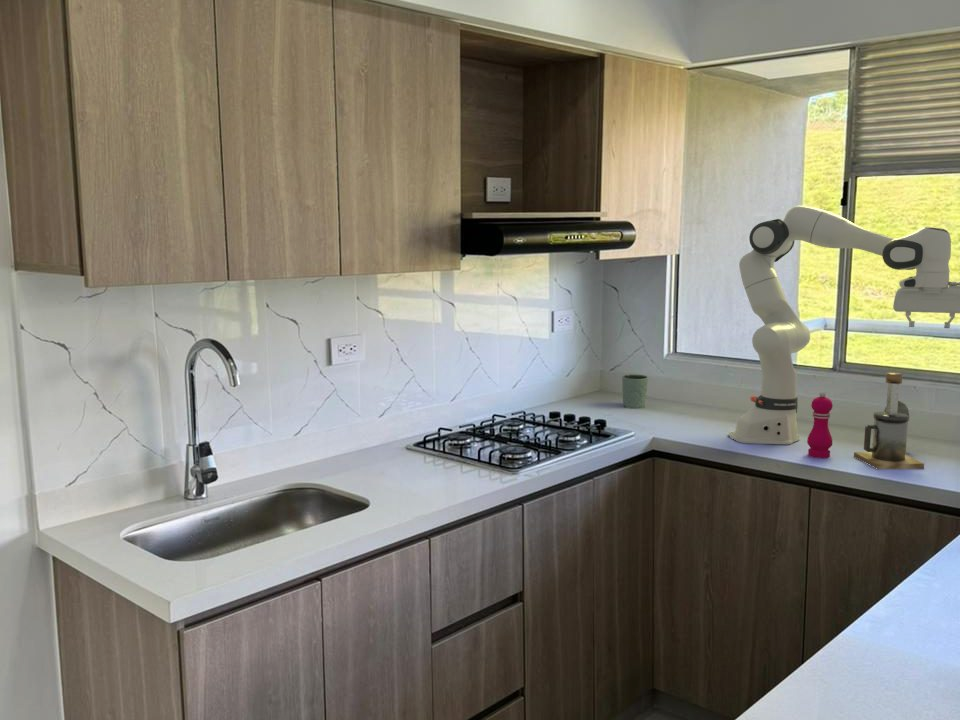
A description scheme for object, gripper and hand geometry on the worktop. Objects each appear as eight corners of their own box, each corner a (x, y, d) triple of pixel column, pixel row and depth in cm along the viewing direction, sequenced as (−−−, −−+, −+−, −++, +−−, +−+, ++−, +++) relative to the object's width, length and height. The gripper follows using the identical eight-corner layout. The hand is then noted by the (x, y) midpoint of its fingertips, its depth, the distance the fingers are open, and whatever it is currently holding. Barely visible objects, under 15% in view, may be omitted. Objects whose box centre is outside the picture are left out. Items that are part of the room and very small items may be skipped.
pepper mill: (811, 451, 270) (814, 388, 267) (834, 455, 265) (838, 391, 262) (803, 456, 264) (806, 392, 261) (827, 460, 260) (831, 395, 257)
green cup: (632, 402, 347) (633, 373, 345) (652, 406, 339) (653, 376, 337) (616, 406, 340) (616, 376, 339) (635, 410, 333) (636, 379, 331)
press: (872, 462, 252) (877, 386, 248) (856, 453, 261) (861, 380, 258) (912, 461, 252) (918, 386, 249) (895, 453, 262) (900, 380, 258)
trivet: (877, 469, 250) (877, 464, 249) (853, 456, 264) (854, 452, 263) (924, 468, 250) (924, 463, 250) (898, 456, 264) (898, 451, 264)
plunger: (888, 415, 253) (891, 375, 251) (880, 412, 257) (883, 372, 255) (902, 415, 253) (905, 374, 251) (894, 412, 257) (897, 372, 255)
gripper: (971, 281, 255) (968, 327, 257) (895, 280, 265) (892, 325, 266) (972, 282, 250) (969, 329, 252) (894, 281, 259) (891, 327, 261)
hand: (929, 327), depth 259 cm, fingers open, 8 cm apart
